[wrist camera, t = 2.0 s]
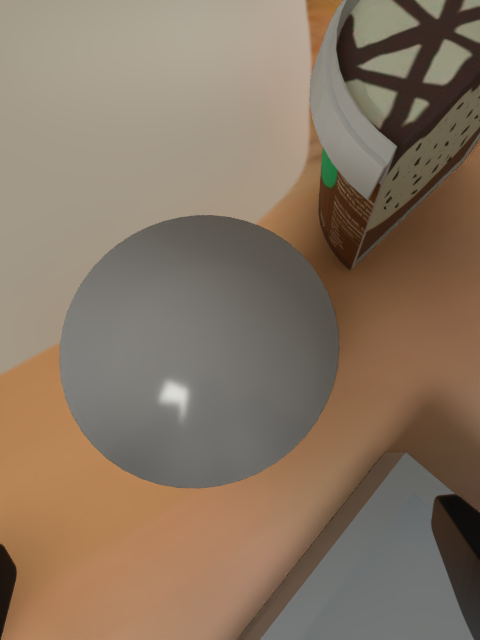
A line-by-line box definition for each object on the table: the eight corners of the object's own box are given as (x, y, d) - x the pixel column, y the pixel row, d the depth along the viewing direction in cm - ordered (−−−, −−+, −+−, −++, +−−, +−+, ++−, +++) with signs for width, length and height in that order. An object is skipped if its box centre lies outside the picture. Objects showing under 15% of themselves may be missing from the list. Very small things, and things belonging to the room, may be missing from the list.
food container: (394, 88, 25) (471, -131, 16) (479, 146, 24) (622, -60, 14) (248, 216, 23) (237, 50, 14) (331, 289, 22) (383, 159, 12)
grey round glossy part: (238, 497, 19) (199, 561, 7) (150, 408, 20) (3, 348, 9) (321, 400, 20) (397, 326, 9) (232, 323, 21) (195, 171, 10)
